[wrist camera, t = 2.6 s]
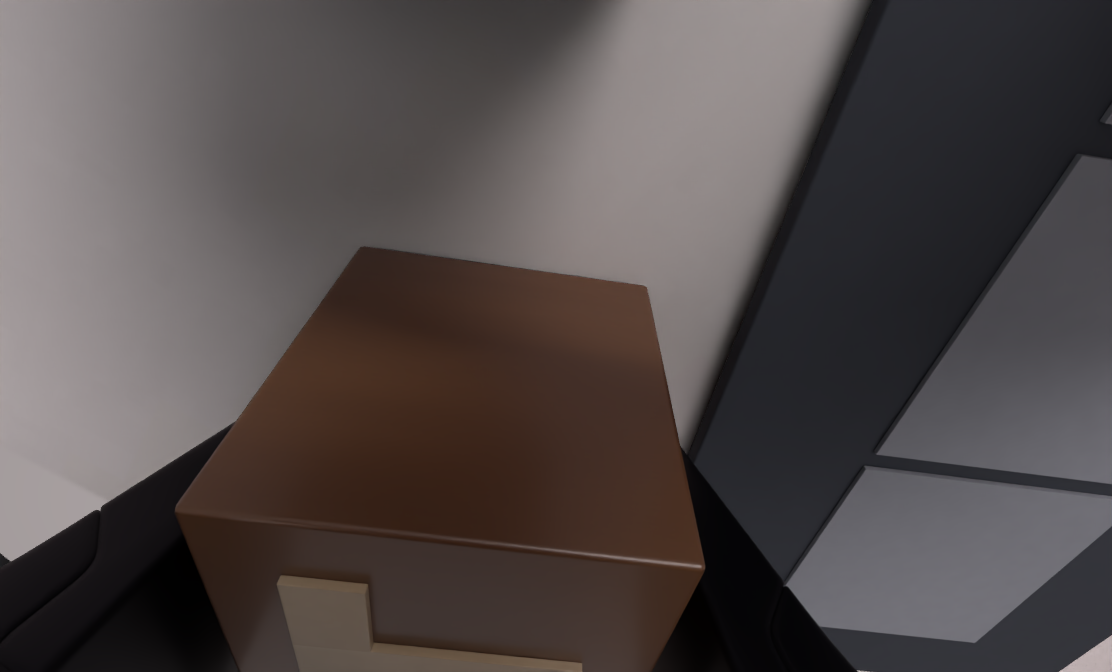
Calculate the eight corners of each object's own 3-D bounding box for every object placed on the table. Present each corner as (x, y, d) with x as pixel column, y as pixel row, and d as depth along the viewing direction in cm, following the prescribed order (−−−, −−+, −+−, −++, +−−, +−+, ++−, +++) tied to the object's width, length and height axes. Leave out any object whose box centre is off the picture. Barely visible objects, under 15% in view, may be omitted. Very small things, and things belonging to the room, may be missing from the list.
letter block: (373, 447, 11) (256, 740, 7) (359, 243, 9) (161, 519, 5) (595, 473, 12) (606, 771, 7) (648, 284, 9) (711, 580, 5)
